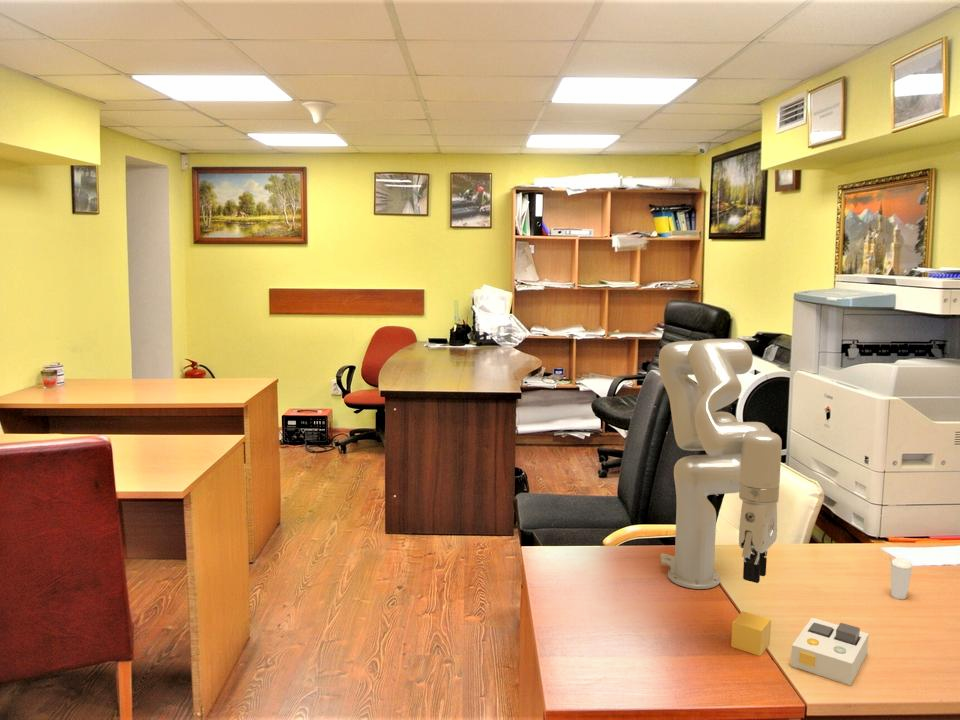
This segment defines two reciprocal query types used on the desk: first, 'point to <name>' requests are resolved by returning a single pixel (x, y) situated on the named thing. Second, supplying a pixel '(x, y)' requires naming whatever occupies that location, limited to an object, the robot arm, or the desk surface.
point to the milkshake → (900, 577)
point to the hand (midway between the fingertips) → (754, 576)
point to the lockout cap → (751, 633)
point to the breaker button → (847, 634)
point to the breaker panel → (828, 654)
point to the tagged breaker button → (821, 630)
